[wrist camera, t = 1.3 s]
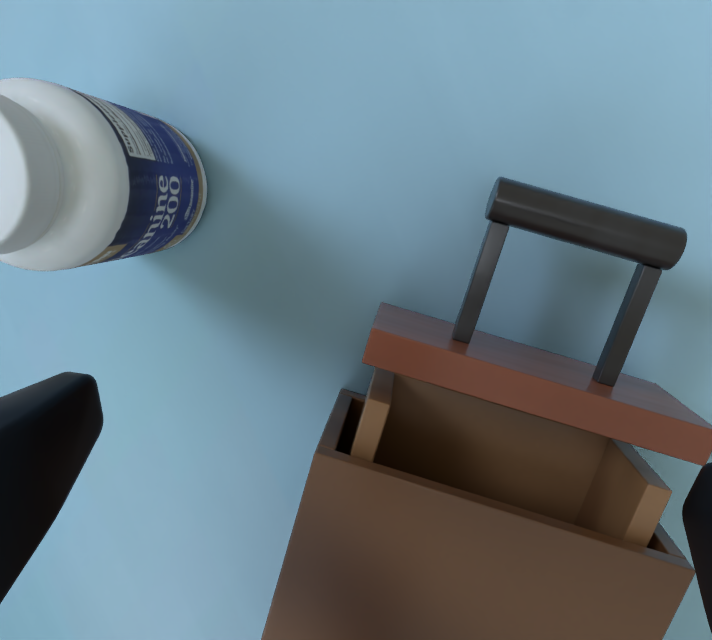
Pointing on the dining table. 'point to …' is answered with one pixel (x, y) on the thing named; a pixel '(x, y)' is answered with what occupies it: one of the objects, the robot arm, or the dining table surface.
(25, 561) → the robot arm
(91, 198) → the pill bottle
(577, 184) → the dining table surface
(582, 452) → the drawer
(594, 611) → the cabinet
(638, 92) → the dining table surface
